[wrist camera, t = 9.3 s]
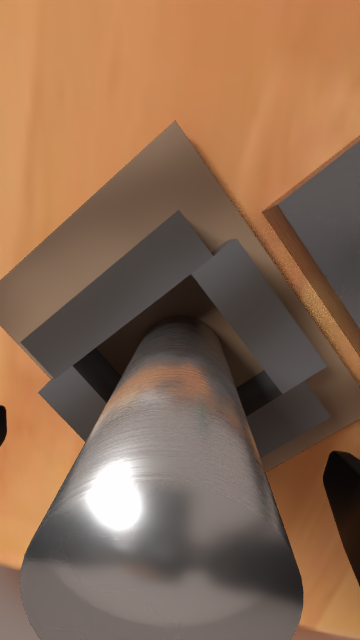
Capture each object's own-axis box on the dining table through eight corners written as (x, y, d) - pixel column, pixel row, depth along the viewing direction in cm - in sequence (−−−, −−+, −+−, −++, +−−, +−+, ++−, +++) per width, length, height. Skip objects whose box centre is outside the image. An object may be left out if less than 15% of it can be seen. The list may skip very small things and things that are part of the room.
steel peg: (239, 363, 14) (358, 627, 4) (174, 408, 14) (141, 729, 5) (188, 298, 13) (184, 426, 3) (122, 348, 14) (-38, 575, 4)
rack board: (363, 399, 15) (412, 443, 12) (183, 504, 17) (181, 567, 14) (176, 130, 12) (170, 86, 9) (-9, 297, 15) (-70, 313, 11)
